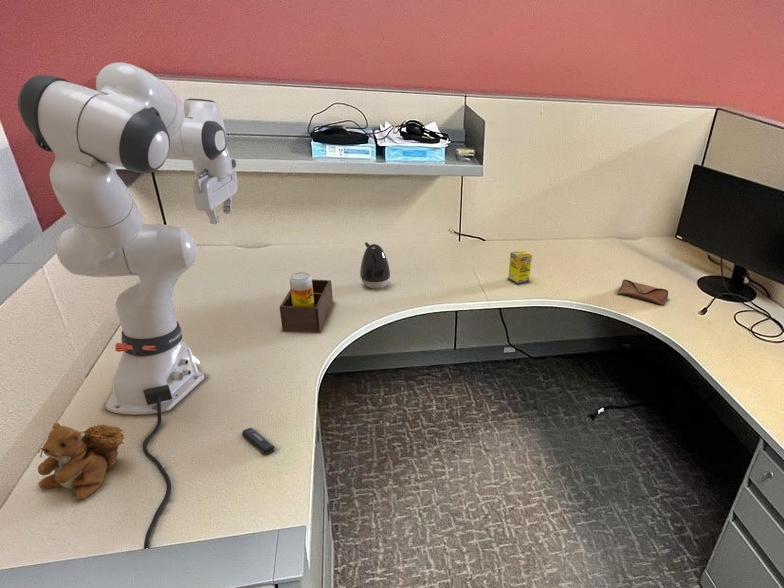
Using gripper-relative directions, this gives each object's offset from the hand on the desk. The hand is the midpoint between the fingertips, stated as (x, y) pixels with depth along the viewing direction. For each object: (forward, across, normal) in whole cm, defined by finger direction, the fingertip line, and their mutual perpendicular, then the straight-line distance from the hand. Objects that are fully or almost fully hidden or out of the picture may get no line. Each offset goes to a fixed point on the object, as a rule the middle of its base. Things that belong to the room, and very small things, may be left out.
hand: (221, 217), depth 154 cm
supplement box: (+31, +42, -88) cm, 102 cm away
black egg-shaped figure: (+31, +30, -36) cm, 56 cm away
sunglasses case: (+31, +33, -134) cm, 142 cm away
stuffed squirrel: (+31, -68, +5) cm, 75 cm away
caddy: (+31, +4, -20) cm, 37 cm away
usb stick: (+31, -57, -23) cm, 69 cm away
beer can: (+30, -1, -20) cm, 36 cm away
